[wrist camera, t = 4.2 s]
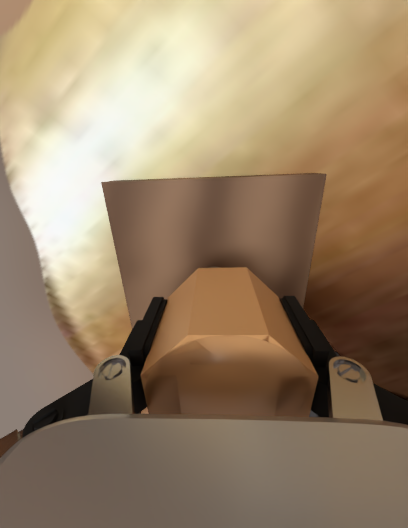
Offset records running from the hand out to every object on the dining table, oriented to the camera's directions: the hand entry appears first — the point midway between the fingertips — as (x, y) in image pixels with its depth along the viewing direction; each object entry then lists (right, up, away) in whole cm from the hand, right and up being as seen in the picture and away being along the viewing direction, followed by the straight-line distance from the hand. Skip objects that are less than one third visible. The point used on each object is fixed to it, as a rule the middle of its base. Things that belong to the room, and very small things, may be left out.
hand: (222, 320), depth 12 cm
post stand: (0, +3, +6) cm, 7 cm away
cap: (0, 0, 0) cm, 0 cm away
